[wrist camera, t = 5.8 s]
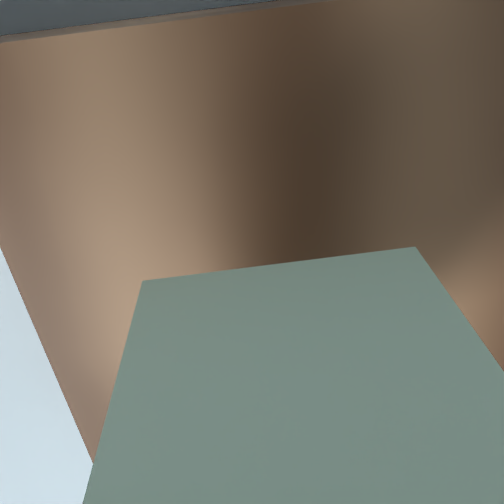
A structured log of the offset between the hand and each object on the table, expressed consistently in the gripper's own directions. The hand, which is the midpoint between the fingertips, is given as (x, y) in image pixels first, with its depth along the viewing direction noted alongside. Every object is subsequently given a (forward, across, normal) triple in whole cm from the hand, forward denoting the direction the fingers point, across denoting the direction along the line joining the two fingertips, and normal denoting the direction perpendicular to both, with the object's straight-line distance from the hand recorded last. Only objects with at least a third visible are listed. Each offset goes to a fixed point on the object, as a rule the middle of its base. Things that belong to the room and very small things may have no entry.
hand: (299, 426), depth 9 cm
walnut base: (+7, 0, 0) cm, 7 cm away
